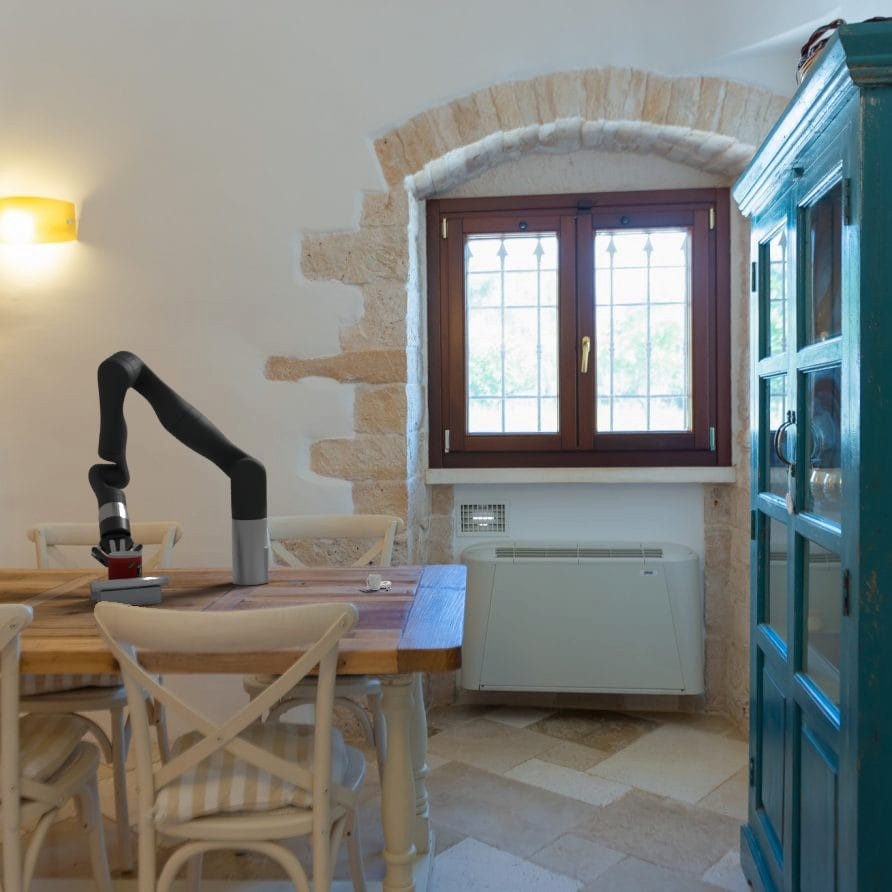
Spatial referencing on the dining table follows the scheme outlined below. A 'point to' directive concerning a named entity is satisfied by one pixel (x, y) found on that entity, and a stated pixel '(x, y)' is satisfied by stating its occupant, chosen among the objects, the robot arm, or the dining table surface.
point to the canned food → (124, 565)
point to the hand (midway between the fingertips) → (120, 578)
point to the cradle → (129, 590)
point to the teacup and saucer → (377, 582)
